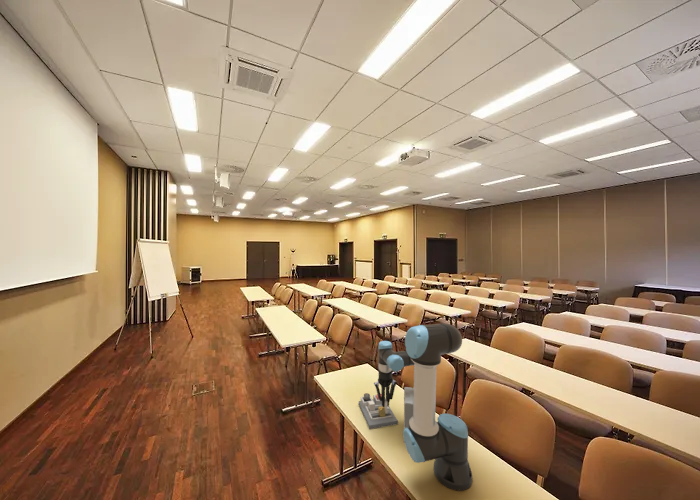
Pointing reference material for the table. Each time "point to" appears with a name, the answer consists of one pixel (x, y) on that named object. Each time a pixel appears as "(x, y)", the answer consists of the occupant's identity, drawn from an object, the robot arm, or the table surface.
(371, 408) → the slider white
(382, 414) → the slider brass
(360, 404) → the panel
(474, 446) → the table surface
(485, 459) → the table surface
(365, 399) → the button black
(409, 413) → the hard drive box
